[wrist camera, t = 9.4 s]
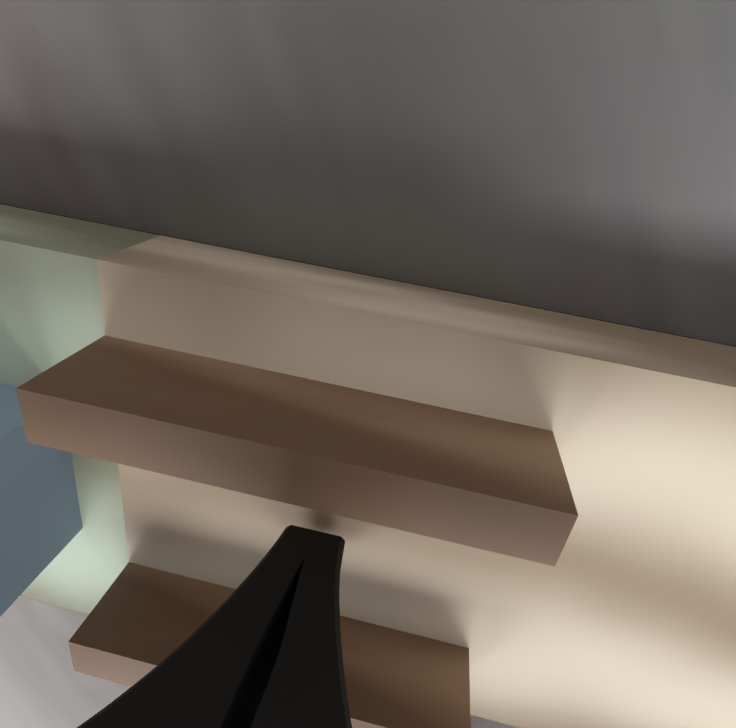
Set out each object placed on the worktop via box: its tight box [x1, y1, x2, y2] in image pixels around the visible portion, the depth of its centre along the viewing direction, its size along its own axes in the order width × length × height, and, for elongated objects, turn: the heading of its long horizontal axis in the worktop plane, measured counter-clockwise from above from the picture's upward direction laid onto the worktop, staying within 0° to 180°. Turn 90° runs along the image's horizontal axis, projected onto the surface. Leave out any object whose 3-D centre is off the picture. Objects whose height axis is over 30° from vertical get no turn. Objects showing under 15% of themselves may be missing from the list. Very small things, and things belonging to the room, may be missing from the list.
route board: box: [0, 204, 736, 728], centre depth 13 cm, size 12×32×5 cm, turn 82°
